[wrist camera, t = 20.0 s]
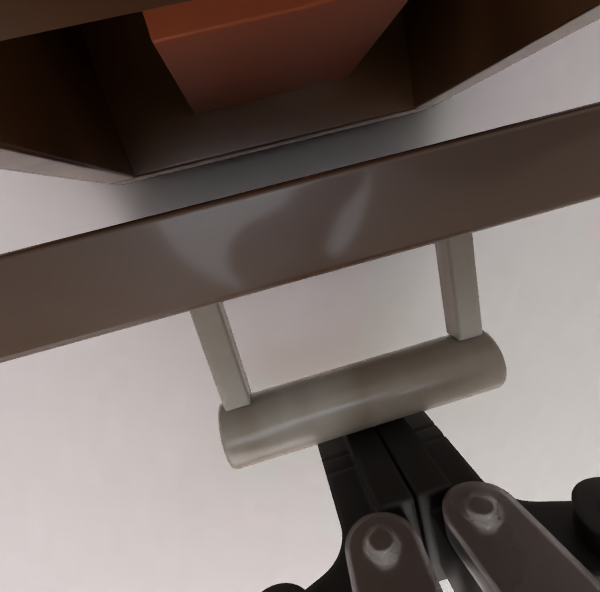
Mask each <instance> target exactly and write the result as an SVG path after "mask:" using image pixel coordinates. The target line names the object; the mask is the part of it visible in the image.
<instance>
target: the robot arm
mask: <svg viewBox="0 0 600 592" xmlns="http://www.w3.org/2000/svg"><path fill="white" fill-rule="evenodd" d="M318 448H319V451H320V455H321V458H322V462H323V465H324V469H325V472H326V476H327V479H328V483H329V486H330V490H331V493H332V497H333V500H334V504H335V507H336V511H337V514H338V518H339V521H340V525H341V529H342V545H341V549H340V552H339V555H338V557H337V559H336V561H335V562H334V564H333V566H332V567H331V568H330V569H329V570H328V571H327V572H326V573H325V574H324V575H323V576H322V577H321V578H319V579H318V580H317V581H316V582H314V583H313V584H312V585H311V586H309V587H308V588H307V589H306V590H305V589H303V588H302V587H300V586H298V585H295V584H291V583H281V584H276V585H273V586H271V587H269V588H267V589H265V590H264V591H262V592H443V591H442V588H441V586H440V584H439V581H441V580H444V579H448V581H449V582H450V584H451V586H452V588H453V590H454V592H600V477H593V478H589V479H585V480H583V481H581V482H579V483H578V484H577V485H576V486H575V487H574V489H573V491H572V497H571V499H572V501H548V502H532V501H523V500H518V499H515V498H514V497H513V496H512V495H510V494H509V493H508V492H506V491H505V490H503V489H502V488H500V487H498V486H495V485H493V484H490V483H486V482H484V481H483V480H482V479H481V478H480V477H479V476H478V475H477V473H476V472H475V471H474V470H473V469H472V467H471V466H470V465H469V464H468V463H467V462H466V460H465V459H464V458H463V457H462V456H461V454H460V453H459V452H458V451H457V450H456V449H455V447H454V446H453V445H452V444H451V443H450V441H449V440H448V439H447V438H446V437H444V435H443V433H442V432H441V431H440V430H439V429H438V427H437V426H435V425H434V423H433V421H432V420H431V419H430V418H429V417H428V416H427V414H426V413H425V412H424V411H422V412H419V413H416V414H412V415H409V416H406V417H403V418H400V419H396V420H393V421H390V422H387V423H384V424H380V425H377V426H374V427H371V428H368V429H365V430H361V431H358V432H355V433H352V434H349V435H345V436H342V437H339V438H336V439H333V440H329V441H326V442H323V443H320V444H318Z"/></svg>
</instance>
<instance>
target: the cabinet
mask: <svg viewBox="0 0 600 592" xmlns="http://www.w3.org/2000/svg"><path fill="white" fill-rule="evenodd" d="M187 1H192V0H0V41H3V40H8V39H12V38H17V37H22V36H27V35H31V34H36V33H41V32H45V31H50V30H55V29H60V28H64V27H69V26H74V25H79V24H83V23H88V22H93V21H97V20H102V19H107V18H112V17H116V16H121V15H126V14H131V13H135V12H140V11H145V10H150V9H154V8H159V7H164V6H168V5H173V4H178V3H183V2H187ZM4 170H6V169H4ZM11 171H13V170H11ZM18 172H20V171H18ZM25 173H27V172H25ZM32 174H34V173H32ZM39 175H41V174H39ZM46 176H48V175H46ZM53 177H55V176H53ZM60 178H62V177H60ZM67 179H69V178H67Z"/></svg>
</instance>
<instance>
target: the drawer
mask: <svg viewBox="0 0 600 592" xmlns="http://www.w3.org/2000/svg"><path fill="white" fill-rule="evenodd" d="M599 18H600V0H408V1H407V3H406V4H405V5H404V6H403V8H402V9H401V10H400V11H399V13H398V14H397V15H396V17H395V18H394V19H393V20H392V22H391V23H390V24H389V25H388V27H387V28H386V29H385V30H384V32H383V33H382V34H381V36H380V37H379V38H378V39H377V41H376V42H375V43H374V44H373V46H372V47H371V48H370V50H369V51H368V52H367V53H366V55H365V56H364V57H363V58H362V60H361V61H360V62H359V63H358V65H357V66H356V67H355V69H354V70H353V71H352V72H351V74H350V75H349V76H347V77H343V78H339V79H335V80H331V81H327V82H323V83H319V84H315V85H311V86H307V87H303V88H299V89H295V90H291V91H287V92H283V93H279V94H275V95H271V96H267V97H263V98H259V99H255V100H251V101H247V102H243V103H239V104H235V105H231V106H227V107H223V108H219V109H215V110H211V111H207V112H203V113H198V114H195V113H194V112H193V110H192V108H191V107H190V105H189V103H188V102H187V100H186V98H185V97H184V95H183V93H182V91H181V90H180V88H179V86H178V85H177V83H176V81H175V80H174V78H173V76H172V74H171V73H170V71H169V69H168V68H167V66H166V64H165V63H164V61H163V59H162V58H161V56H160V54H159V52H158V51H157V49H156V47H155V46H154V44H153V42H152V40H151V37H150V34H149V31H148V28H147V25H146V21H145V18H144V15H143V12H142V11H140V12H135V13H131V14H126V15H121V16H116V17H112V18H107V19H102V20H97V21H93V22H88V23H83V24H79V25H74V26H69V27H64V28H60V29H55V30H50V31H45V32H41V33H36V34H31V35H27V36H22V37H17V38H12V39H8V40H3V41H0V169H6V170H13V171H20V172H27V173H34V174H41V175H48V176H55V177H62V178H69V179H76V180H83V181H90V182H97V183H104V184H112V185H123V184H127V183H131V182H135V181H139V180H143V179H147V178H151V177H155V176H159V175H163V174H167V173H172V172H176V171H180V170H184V169H188V168H192V167H196V166H200V165H204V164H208V163H212V162H216V161H220V160H224V159H228V158H232V157H236V156H241V155H245V154H249V153H253V152H257V151H261V150H265V149H269V148H273V147H277V146H281V145H285V144H289V143H293V142H297V141H301V140H305V139H310V138H314V137H318V136H322V135H326V134H330V133H334V132H338V131H342V130H346V129H350V128H354V127H358V126H362V125H366V124H370V123H374V122H378V121H383V120H387V119H391V118H395V117H399V116H403V115H407V114H411V113H415V112H419V111H423V110H426V109H428V108H430V107H432V106H434V105H436V104H437V103H440V102H442V101H444V100H446V99H448V98H450V97H452V96H453V95H455V94H457V93H459V92H461V91H463V90H465V89H467V88H469V87H471V86H472V85H474V84H476V83H478V82H480V81H482V80H484V79H486V78H488V77H489V76H491V75H493V74H495V73H497V72H499V71H501V70H503V69H505V68H507V67H508V66H510V65H512V64H514V63H516V62H518V61H520V60H522V59H524V58H526V57H527V56H529V55H531V54H533V53H535V52H537V51H539V50H541V49H543V48H544V47H546V46H548V45H550V44H552V43H554V42H556V41H558V40H560V39H562V38H563V37H565V36H567V35H569V34H571V33H573V32H575V31H577V30H579V29H581V28H582V27H584V26H586V25H588V24H590V23H592V22H594V21H596V20H598V19H599ZM599 197H600V102H597V103H593V104H589V105H585V106H581V107H577V108H574V109H570V110H566V111H562V112H558V113H554V114H550V115H546V116H542V117H538V118H534V119H530V120H526V121H522V122H519V123H515V124H511V125H507V126H503V127H499V128H495V129H491V130H487V131H483V132H479V133H475V134H471V135H467V136H463V137H460V138H456V139H452V140H448V141H444V142H440V143H436V144H432V145H428V146H424V147H420V148H416V149H412V150H408V151H405V152H401V153H397V154H393V155H389V156H385V157H381V158H377V159H373V160H369V161H365V162H361V163H357V164H353V165H350V166H346V167H342V168H338V169H334V170H330V171H326V172H322V173H318V174H314V175H310V176H306V177H302V178H298V179H294V180H291V181H287V182H283V183H279V184H275V185H271V186H267V187H263V188H259V189H255V190H251V191H247V192H243V193H239V194H236V195H232V196H228V197H224V198H220V199H216V200H212V201H208V202H204V203H200V204H196V205H192V206H188V207H184V208H181V209H177V210H173V211H169V212H165V213H161V214H157V215H153V216H149V217H145V218H141V219H137V220H133V221H129V222H125V223H122V224H118V225H114V226H110V227H106V228H102V229H98V230H94V231H90V232H86V233H82V234H78V235H74V236H70V237H67V238H63V239H59V240H55V241H51V242H47V243H43V244H39V245H35V246H31V247H27V248H23V249H19V250H15V251H12V252H8V253H4V254H0V363H2V362H6V361H9V360H13V359H16V358H20V357H24V356H27V355H31V354H34V353H38V352H42V351H45V350H49V349H53V348H56V347H60V346H63V345H67V344H71V343H74V342H78V341H82V340H85V339H89V338H92V337H96V336H100V335H103V334H107V333H110V332H114V331H118V330H121V329H125V328H129V327H132V326H136V325H139V324H143V323H147V322H150V321H154V320H158V319H161V318H165V317H168V316H172V315H176V314H179V313H183V312H186V311H190V314H191V317H192V319H193V322H194V325H195V328H196V331H197V333H198V336H199V339H200V342H201V345H202V347H203V350H204V353H205V356H206V359H207V361H208V364H209V367H210V370H211V373H212V375H213V378H214V381H215V384H216V387H217V389H218V392H219V395H220V398H221V401H222V404H221V405H220V407H219V413H218V421H219V431H220V436H221V441H222V445H223V449H224V452H225V455H226V457H227V460H228V462H229V463H230V465H231V467H232V468H234V469H240V468H243V467H246V466H249V465H253V464H256V463H259V462H262V461H265V460H269V459H272V458H275V457H278V456H281V455H285V454H288V453H291V452H294V451H297V450H301V449H304V448H307V447H310V446H313V445H317V444H320V443H323V442H326V441H329V440H333V439H336V438H339V437H342V436H345V435H349V434H352V433H355V432H358V431H361V430H365V429H368V428H371V427H374V426H377V425H380V424H384V423H387V422H390V421H393V420H396V419H400V418H403V417H406V416H409V415H412V414H416V413H419V412H422V411H425V410H428V409H432V408H435V407H438V406H441V405H444V404H448V403H451V402H454V401H457V400H460V399H464V398H467V397H470V396H473V395H476V394H480V393H483V392H486V391H489V390H492V389H496V388H499V387H500V386H501V385H502V384H503V383H504V382H505V380H506V365H505V361H504V358H503V355H502V353H501V351H500V349H499V347H498V345H497V344H496V342H495V341H494V340H493V339H492V337H491V336H490V335H489V334H488V333H486V332H485V331H483V330H482V325H481V315H480V305H479V296H478V286H477V277H476V267H475V257H474V248H473V238H472V232H476V231H480V230H483V229H487V228H490V227H494V226H498V225H501V224H505V223H508V222H512V221H516V220H519V219H523V218H527V217H530V216H534V215H537V214H541V213H545V212H548V211H552V210H556V209H559V208H563V207H566V206H570V205H574V204H577V203H581V202H584V201H588V200H592V199H595V198H599ZM433 243H435V248H436V256H437V263H438V270H439V278H440V285H441V293H442V300H443V307H444V315H445V322H446V329H447V333H448V334H450V335H447V336H443V337H440V338H437V339H433V340H430V341H427V342H423V343H420V344H417V345H413V346H410V347H406V348H403V349H400V350H396V351H393V352H390V353H386V354H383V355H380V356H376V357H373V358H370V359H366V360H363V361H359V362H356V363H353V364H349V365H346V366H343V367H339V368H336V369H333V370H329V371H326V372H322V373H319V374H316V375H312V376H309V377H306V378H302V379H299V380H296V381H292V382H289V383H286V384H282V385H279V386H275V387H272V388H269V389H265V390H262V391H259V392H255V393H252V394H251V389H250V386H249V383H248V380H247V377H246V374H245V371H244V368H243V365H242V361H241V358H240V355H239V352H238V349H237V346H236V343H235V340H234V337H233V334H232V331H231V328H230V325H229V322H228V318H227V315H226V312H225V309H224V306H223V303H222V302H223V301H226V300H230V299H233V298H237V297H241V296H244V295H248V294H252V293H255V292H259V291H262V290H266V289H270V288H273V287H277V286H281V285H284V284H288V283H291V282H295V281H299V280H302V279H306V278H309V277H313V276H317V275H320V274H324V273H328V272H331V271H335V270H338V269H342V268H346V267H349V266H353V265H357V264H360V263H364V262H367V261H371V260H375V259H378V258H382V257H385V256H389V255H393V254H396V253H400V252H404V251H407V250H411V249H414V248H418V247H422V246H425V245H429V244H433Z"/></svg>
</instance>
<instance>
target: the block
mask: <svg viewBox="0 0 600 592" xmlns="http://www.w3.org/2000/svg"><path fill="white" fill-rule="evenodd" d="M407 1H408V0H192V1H187V2H183V3H178V4H173V5H168V6H164V7H159V8H154V9H150V10H145V11H142V12H143V15H144V18H145V21H146V25H147V28H148V31H149V34H150V37H151V40H152V42H153V44H154V46H155V47H156V49H157V51H158V52H159V54H160V56H161V58H162V59H163V61H164V63H165V64H166V66H167V68H168V69H169V71H170V73H171V74H172V76H173V78H174V80H175V81H176V83H177V85H178V86H179V88H180V90H181V91H182V93H183V95H184V97H185V98H186V100H187V102H188V103H189V105H190V107H191V108H192V110H193V112H194V113H195V114H198V113H203V112H207V111H211V110H215V109H219V108H223V107H227V106H231V105H235V104H239V103H243V102H247V101H251V100H255V99H259V98H263V97H267V96H271V95H275V94H279V93H283V92H287V91H291V90H295V89H299V88H303V87H307V86H311V85H315V84H319V83H323V82H327V81H331V80H335V79H339V78H343V77H347V76H349V75H350V74H351V72H352V71H353V70H354V69H355V67H356V66H357V65H358V63H359V62H360V61H361V60H362V58H363V57H364V56H365V55H366V53H367V52H368V51H369V50H370V48H371V47H372V46H373V44H374V43H375V42H376V41H377V39H378V38H379V37H380V36H381V34H382V33H383V32H384V30H385V29H386V28H387V27H388V25H389V24H390V23H391V22H392V20H393V19H394V18H395V17H396V15H397V14H398V13H399V11H400V10H401V9H402V8H403V6H404V5H405V4H406V3H407Z"/></svg>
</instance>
